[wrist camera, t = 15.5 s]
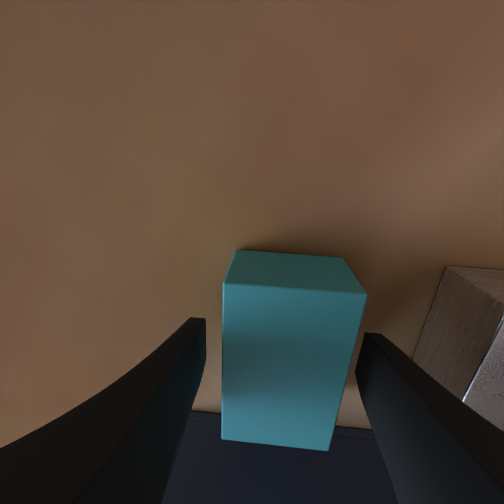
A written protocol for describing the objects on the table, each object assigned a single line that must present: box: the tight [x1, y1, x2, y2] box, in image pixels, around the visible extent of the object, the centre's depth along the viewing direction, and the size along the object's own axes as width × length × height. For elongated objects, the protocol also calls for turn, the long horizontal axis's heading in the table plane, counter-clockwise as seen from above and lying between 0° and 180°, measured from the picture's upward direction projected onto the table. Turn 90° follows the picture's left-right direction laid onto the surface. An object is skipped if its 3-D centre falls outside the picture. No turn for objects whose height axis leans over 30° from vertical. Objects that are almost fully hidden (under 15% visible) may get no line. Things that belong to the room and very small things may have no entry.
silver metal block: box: [412, 266, 504, 431], centre depth 10 cm, size 4×7×3 cm, turn 177°
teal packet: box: [221, 250, 368, 451], centre depth 10 cm, size 4×7×3 cm, turn 177°
